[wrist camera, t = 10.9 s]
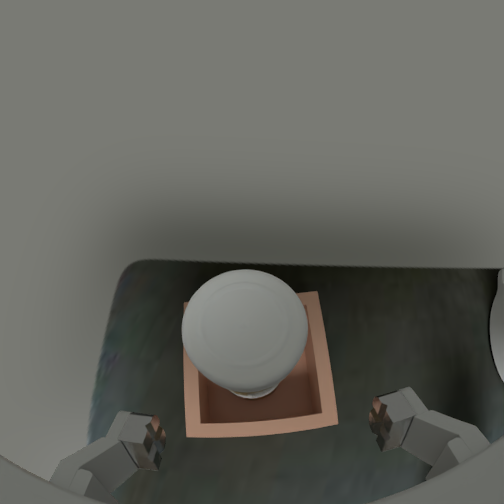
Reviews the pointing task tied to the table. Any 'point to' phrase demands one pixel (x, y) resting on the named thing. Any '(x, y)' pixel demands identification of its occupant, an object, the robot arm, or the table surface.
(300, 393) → the terracotta socket
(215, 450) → the table surface
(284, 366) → the sprinkles bottle
